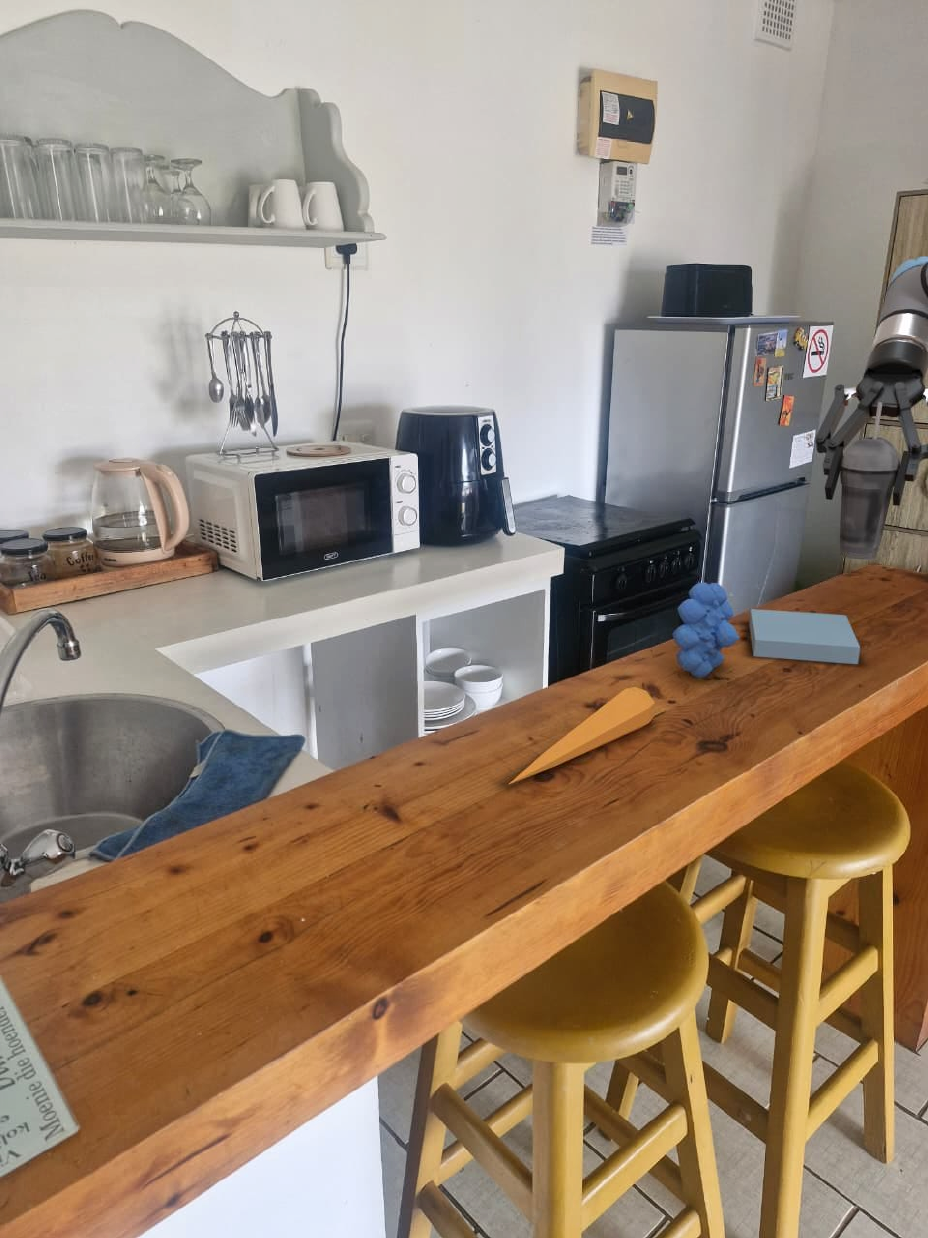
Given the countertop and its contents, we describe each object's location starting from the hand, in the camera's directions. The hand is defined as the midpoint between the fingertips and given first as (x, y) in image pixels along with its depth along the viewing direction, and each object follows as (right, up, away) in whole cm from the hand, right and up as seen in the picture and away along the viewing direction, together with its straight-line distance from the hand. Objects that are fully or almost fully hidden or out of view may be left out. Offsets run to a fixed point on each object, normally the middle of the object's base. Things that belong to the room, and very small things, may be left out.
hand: (861, 496), depth 110 cm
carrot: (-39, -29, -25) cm, 55 cm away
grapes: (-22, -23, -9) cm, 33 cm away
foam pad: (-7, -19, +1) cm, 20 cm away
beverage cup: (+2, -7, +6) cm, 9 cm away
